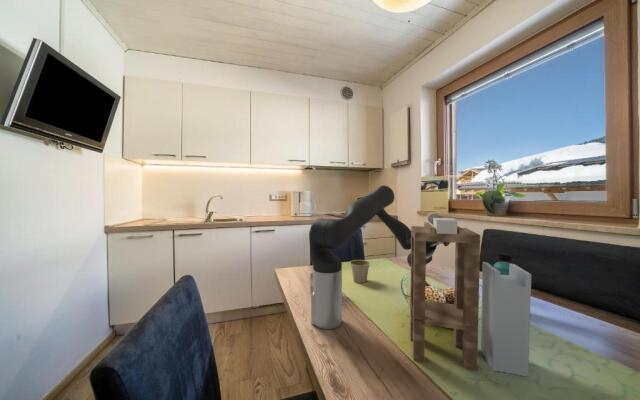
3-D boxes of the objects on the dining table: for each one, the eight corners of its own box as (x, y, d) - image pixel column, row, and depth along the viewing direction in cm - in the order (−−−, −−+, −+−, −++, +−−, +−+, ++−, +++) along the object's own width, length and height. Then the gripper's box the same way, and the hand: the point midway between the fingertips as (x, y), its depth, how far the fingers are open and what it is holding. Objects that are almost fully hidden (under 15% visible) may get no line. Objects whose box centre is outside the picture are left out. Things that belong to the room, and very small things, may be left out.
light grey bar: (436, 233, 59) (436, 219, 59) (424, 222, 79) (425, 212, 79) (457, 234, 58) (457, 220, 58) (440, 223, 77) (440, 212, 77)
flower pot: (346, 279, 118) (346, 261, 118) (362, 276, 122) (362, 258, 122) (356, 286, 110) (357, 266, 110) (374, 282, 114) (374, 264, 114)
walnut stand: (413, 360, 62) (415, 227, 61) (409, 335, 73) (411, 221, 71) (477, 370, 58) (480, 229, 57) (463, 343, 69) (466, 223, 67)
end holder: (492, 370, 58) (495, 271, 57) (480, 349, 66) (482, 261, 65) (528, 376, 56) (531, 274, 55) (511, 354, 64) (514, 264, 63)
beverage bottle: (505, 315, 84) (507, 256, 83) (487, 306, 90) (488, 252, 89) (520, 313, 85) (521, 255, 85) (501, 304, 92) (502, 250, 91)
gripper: (404, 236, 99) (407, 220, 85) (443, 238, 95) (453, 221, 81) (404, 255, 95) (407, 241, 82) (445, 258, 92) (455, 243, 78)
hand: (430, 231), depth 81 cm, fingers open, 8 cm apart
